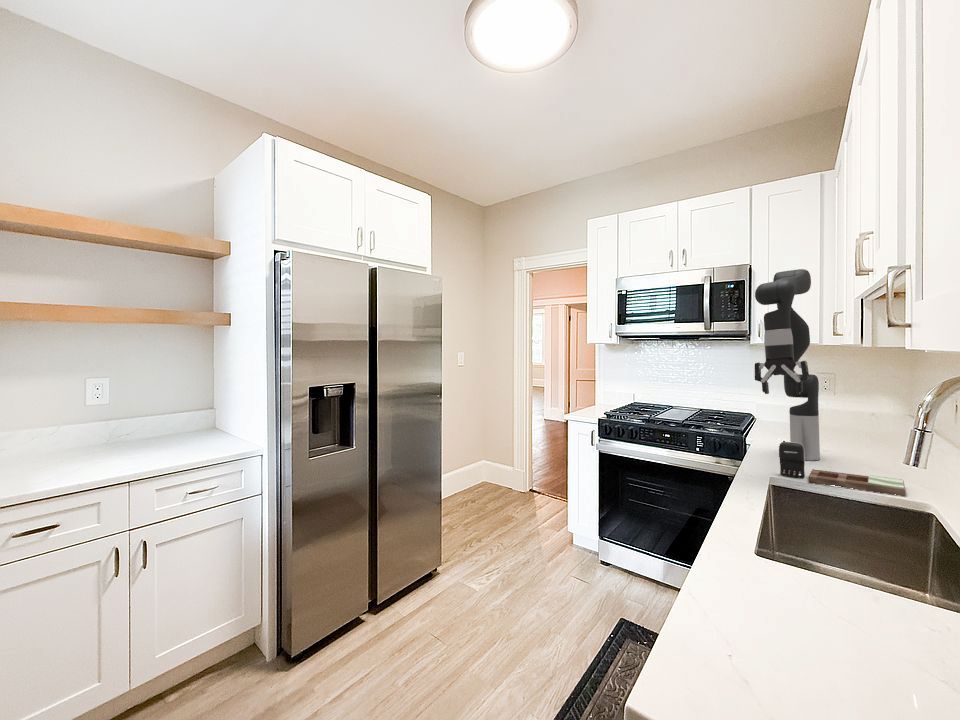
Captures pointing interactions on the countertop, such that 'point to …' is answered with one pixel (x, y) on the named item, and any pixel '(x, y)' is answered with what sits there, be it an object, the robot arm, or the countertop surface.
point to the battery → (792, 459)
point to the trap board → (858, 482)
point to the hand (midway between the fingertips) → (782, 393)
